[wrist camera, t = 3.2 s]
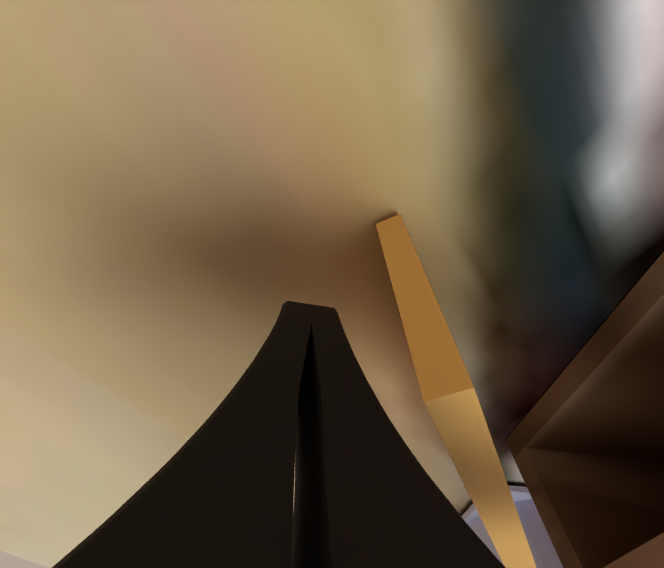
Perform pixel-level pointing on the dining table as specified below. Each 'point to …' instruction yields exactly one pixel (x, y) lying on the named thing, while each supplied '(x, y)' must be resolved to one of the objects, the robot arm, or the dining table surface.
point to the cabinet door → (452, 396)
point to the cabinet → (604, 441)
